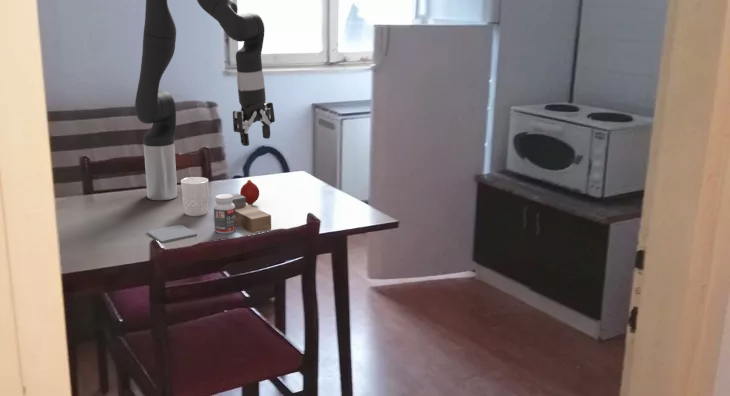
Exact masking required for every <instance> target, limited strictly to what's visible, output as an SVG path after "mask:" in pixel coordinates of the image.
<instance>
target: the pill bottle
mask: <svg viewBox="0 0 730 396" xmlns="http://www.w3.org/2000/svg"><path fill="white" fill-rule="evenodd" d="M214 200H215V203H214V205H213V218H214V219H213V220H214V221H213V222H214V231H215V232H216V233H217V234H223V235H227V234H232V233H234V232H235V231H236V229H237V225H236V220H235V205H234V204H233V203H232V201H233V195H231V194H230V193H222V194H221V193H220V194H217V195H215V199H214Z"/></svg>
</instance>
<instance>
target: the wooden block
mask: <svg viewBox="0 0 730 396" xmlns="http://www.w3.org/2000/svg"><path fill="white" fill-rule="evenodd" d="M231 195H233V201H232V203H233V204H234V205H235V220H236V226H238V227H240V228H242V229H243V230H246V231H248V232H249V233H251V234H254V233H258V232H264V231H268V230H272V215H271V214H269V213H267V212H265V211H263V210H261V209H259V208H257V207H255V206H252V205H248V204H247V203H246V197H244V196H242V195H240V193H232V194H231Z"/></svg>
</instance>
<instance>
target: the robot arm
mask: <svg viewBox="0 0 730 396" xmlns="http://www.w3.org/2000/svg"><path fill="white" fill-rule="evenodd" d="M196 1H197V4H198V5H199V6H200V7H201V8H202V10H204V12H206V13H207V14H208V15H209V16H211V17H212V18H213V19H215V20H216V21H217V22H218V23H219V25H220V27H221V28H222V29H223V31H224V33H226V35H227V36H228V37H229V38H230V39H232V40H233V41H235V42H238V43H239V42H240V43H241V42H243V46H242V47H241V48H240V49H238V50H237V51H236V53H235V62H236V83H237V93H238V94H237V95H238V102H239V104H240V107H241V108H240V110H233V111H232V121H233V123H232V124H233V127H232V128H233V132H234V133H239V135H240V136H239V137H240V143H241V145H242V146H243V147H248V146H250V140H249V139H250V137H249V133H248V132H249V129H250V127H252V125H253V124H254V123H256V122H260V124H261V130H262V132H261V133H262V137H263V139H267V140H269V139H270V138H271V127H270V126H271V125H272V123H274V122H275V121H276V118H275V111H274V104H273V102H270V101H267V97H266V87H265V78H264V77H265V76H264V72H263V62H262V50H263V46H264V39H265V25H264V21H263V19H262V18H261V16H260V15H259V14H257V13H255V12H248V13H242V14H239V13H238V5H237V4H236V2H235V1H233V0H196ZM144 15H145V16H144V17H145V18H144V26H143V38H142V55H141V64H140V74H139V79H138V83H137V84H138V85H137V90H136V95H135V102H134V105H135V106H134V107H135V108H134V110H135V115H136V117H137V119H138V120H139V122H141V123H142V124H146V125H147V124H149V125H150V124H152V125H151V127H150V129H149V130H148V131H147V132H145V133H144V135H143V137H142V142H143V154H144V168H145V182H146V196H147V199H149V200H151V201H169V200H172V199H176V198H177V197H178V181H177V168H176V165H177V163H176V151H175V149H176V148H175V136H176V132H177V110H176V109H177V108H176V103H175V100H174V97H173V96H172V94H171V93H170V92H168V91H166V90H159V88H160V84H161V83H160V82H161V80H162V76H163V75H164V73H165V71H166V70H167V68H168V66H169V64H170V62H171V61H172V59H173V56H174V54H175V50H176V40H177V28H176V25H175V24H176V23H175V22H174V21H175V20H174V19H173V16H172V14H171V12H170V8H169V6H168V0H145V14H144Z"/></svg>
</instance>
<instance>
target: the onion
mask: <svg viewBox="0 0 730 396" xmlns="http://www.w3.org/2000/svg"><path fill="white" fill-rule="evenodd" d="M239 194H240V195H242V196H244V197H246V204H248V205H250V206H252V205H253V204H254V203H256V202H257V201H258V199H259V197H260V190H259V188H258V186H257V185H256V184H255V183H254V182H253V181H252V180H251V179H248V180H247V182H245V183H244V184H243V185H242V186H241V188H240V193H239Z"/></svg>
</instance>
